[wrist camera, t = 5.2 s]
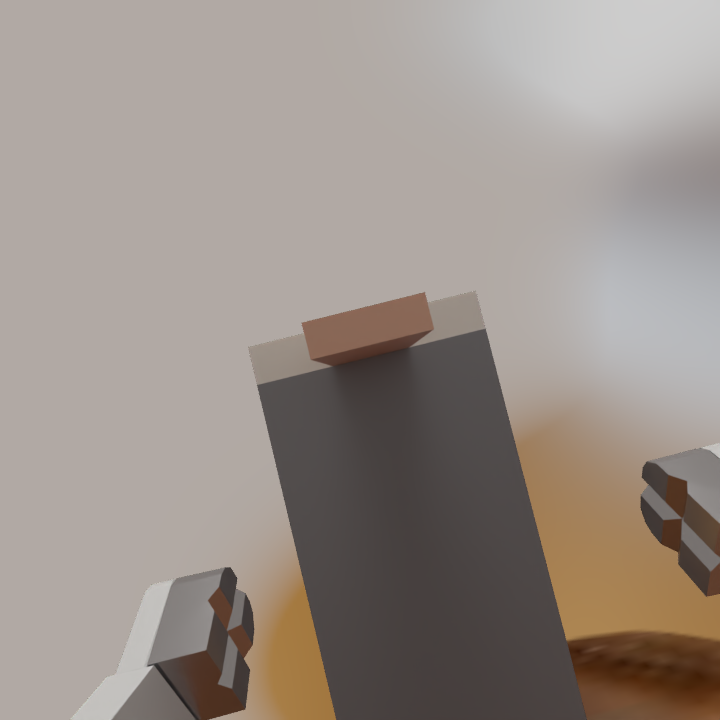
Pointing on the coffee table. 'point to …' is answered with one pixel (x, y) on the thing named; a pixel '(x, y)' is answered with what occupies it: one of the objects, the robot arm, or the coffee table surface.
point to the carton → (419, 539)
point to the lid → (366, 334)
